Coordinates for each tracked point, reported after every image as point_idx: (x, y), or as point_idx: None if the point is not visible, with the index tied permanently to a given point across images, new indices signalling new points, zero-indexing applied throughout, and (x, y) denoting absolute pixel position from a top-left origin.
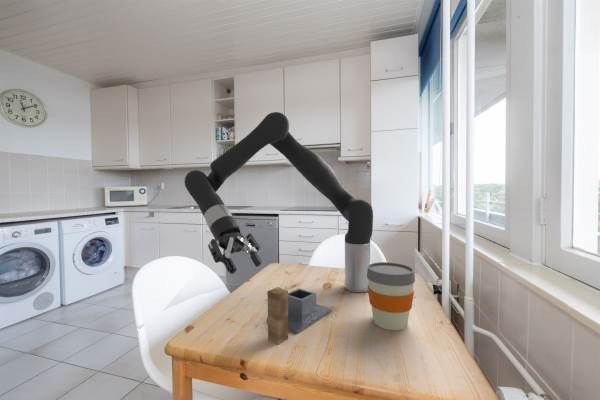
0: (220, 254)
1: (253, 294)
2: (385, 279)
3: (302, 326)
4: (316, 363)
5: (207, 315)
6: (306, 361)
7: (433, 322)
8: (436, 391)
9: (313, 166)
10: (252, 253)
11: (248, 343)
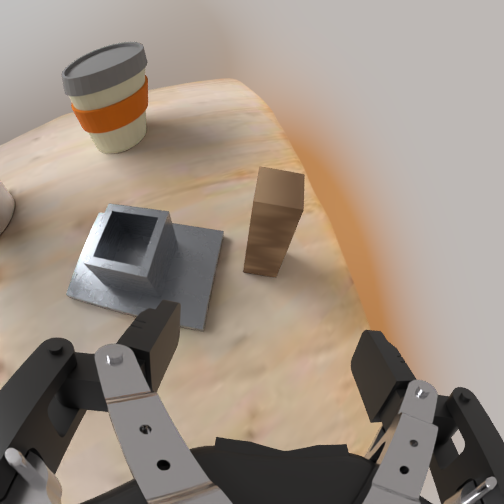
0: (468, 396)
1: (81, 462)
2: (143, 58)
3: (203, 228)
4: None
5: None
6: None
7: None
8: (254, 95)
9: None
10: (143, 374)
11: (311, 304)
